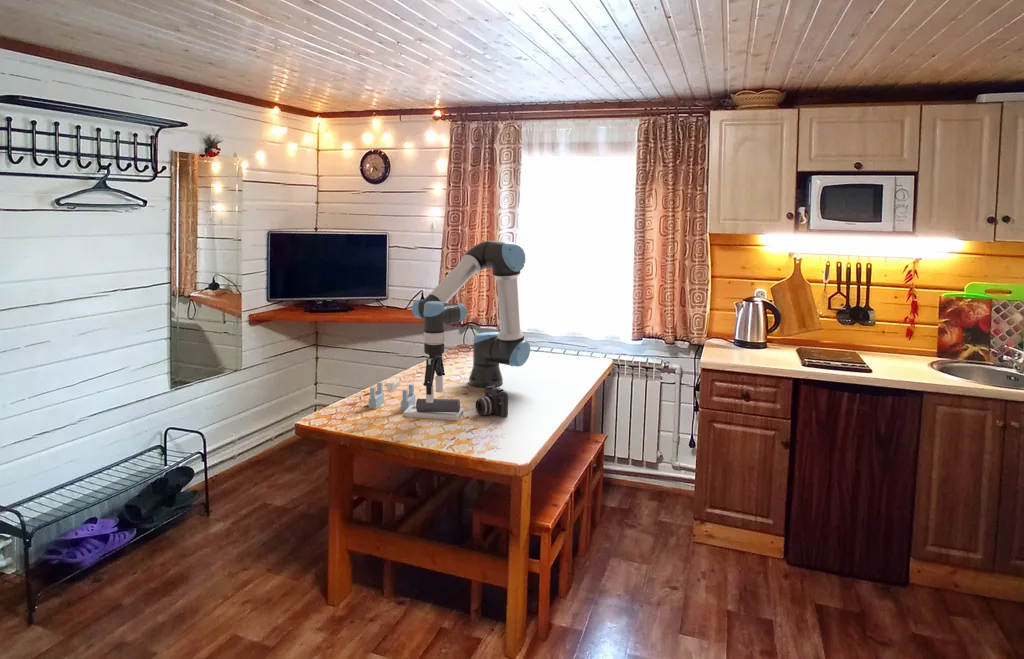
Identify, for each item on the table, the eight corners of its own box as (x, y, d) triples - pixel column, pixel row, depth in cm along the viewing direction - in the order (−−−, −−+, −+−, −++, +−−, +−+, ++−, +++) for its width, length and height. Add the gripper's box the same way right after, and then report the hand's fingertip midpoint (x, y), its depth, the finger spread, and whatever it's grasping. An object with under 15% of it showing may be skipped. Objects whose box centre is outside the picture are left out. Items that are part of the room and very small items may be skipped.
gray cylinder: (460, 410, 267) (459, 397, 266) (457, 414, 262) (456, 401, 261) (420, 409, 269) (419, 396, 268) (416, 413, 265) (415, 400, 263)
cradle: (415, 404, 278) (415, 384, 277) (408, 411, 269) (408, 390, 267) (377, 401, 280) (376, 381, 279) (368, 408, 271) (368, 387, 270)
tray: (463, 412, 269) (463, 408, 269) (457, 420, 260) (457, 416, 260) (411, 408, 272) (411, 405, 272) (403, 416, 263) (403, 412, 263)
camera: (468, 410, 273) (469, 385, 271) (492, 406, 278) (493, 382, 276) (486, 420, 261) (486, 395, 259) (511, 416, 266) (511, 391, 264)
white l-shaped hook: (400, 385, 270) (400, 376, 269) (392, 392, 260) (392, 383, 259) (394, 385, 270) (394, 376, 270) (386, 392, 261) (386, 383, 260)
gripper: (433, 335, 274) (433, 387, 278) (414, 349, 249) (415, 406, 254) (451, 336, 272) (452, 388, 277) (435, 350, 248) (435, 407, 252)
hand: (434, 397), depth 265 cm, fingers open, 13 cm apart
